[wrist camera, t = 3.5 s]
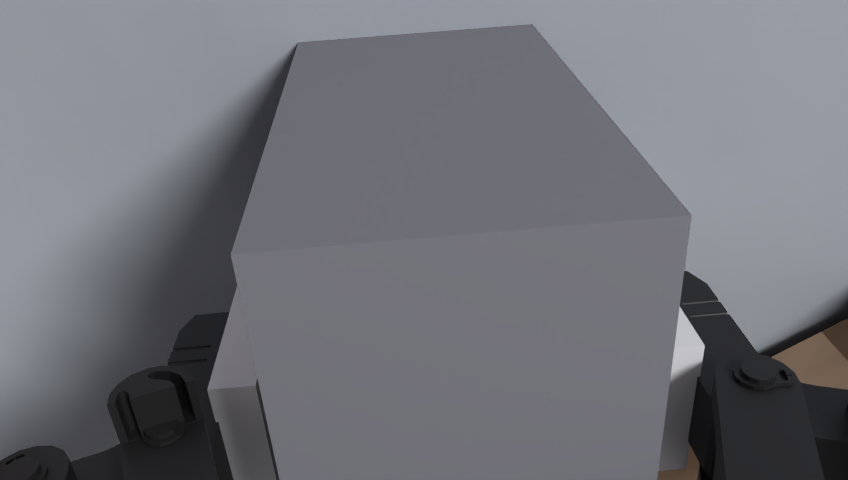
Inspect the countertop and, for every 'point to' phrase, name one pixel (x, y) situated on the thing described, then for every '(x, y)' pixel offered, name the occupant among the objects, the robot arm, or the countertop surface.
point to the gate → (812, 363)
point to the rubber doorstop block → (457, 267)
